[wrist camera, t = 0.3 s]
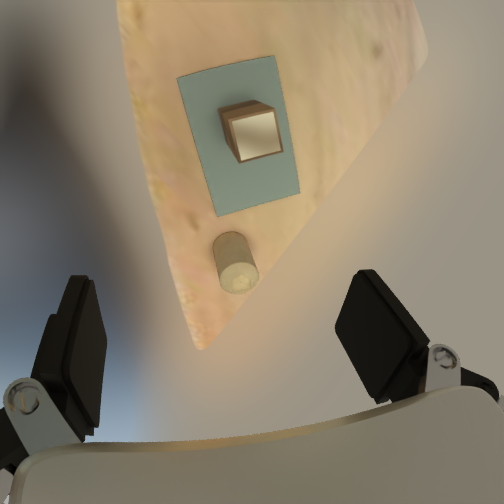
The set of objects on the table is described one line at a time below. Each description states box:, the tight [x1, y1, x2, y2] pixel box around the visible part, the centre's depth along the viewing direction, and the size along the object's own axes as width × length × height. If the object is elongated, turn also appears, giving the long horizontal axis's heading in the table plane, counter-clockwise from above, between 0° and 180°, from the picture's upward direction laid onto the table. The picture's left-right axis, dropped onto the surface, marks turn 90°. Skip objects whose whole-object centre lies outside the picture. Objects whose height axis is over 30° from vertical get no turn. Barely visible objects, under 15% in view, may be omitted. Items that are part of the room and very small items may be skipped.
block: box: [217, 100, 284, 164], centre depth 36 cm, size 5×5×10 cm
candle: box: [213, 232, 259, 294], centre depth 47 cm, size 6×6×10 cm
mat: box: [177, 56, 300, 217], centre depth 41 cm, size 21×13×1 cm, turn 12°
